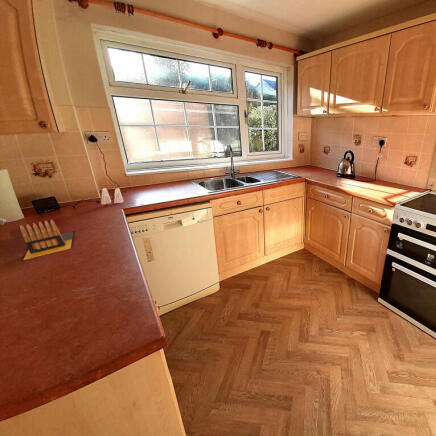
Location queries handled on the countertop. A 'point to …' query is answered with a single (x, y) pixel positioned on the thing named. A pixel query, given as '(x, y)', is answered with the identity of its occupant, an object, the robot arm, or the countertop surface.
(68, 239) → the sorting board
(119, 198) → the shaker set
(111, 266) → the countertop surface
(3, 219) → the robot arm
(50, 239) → the ammunition clip
